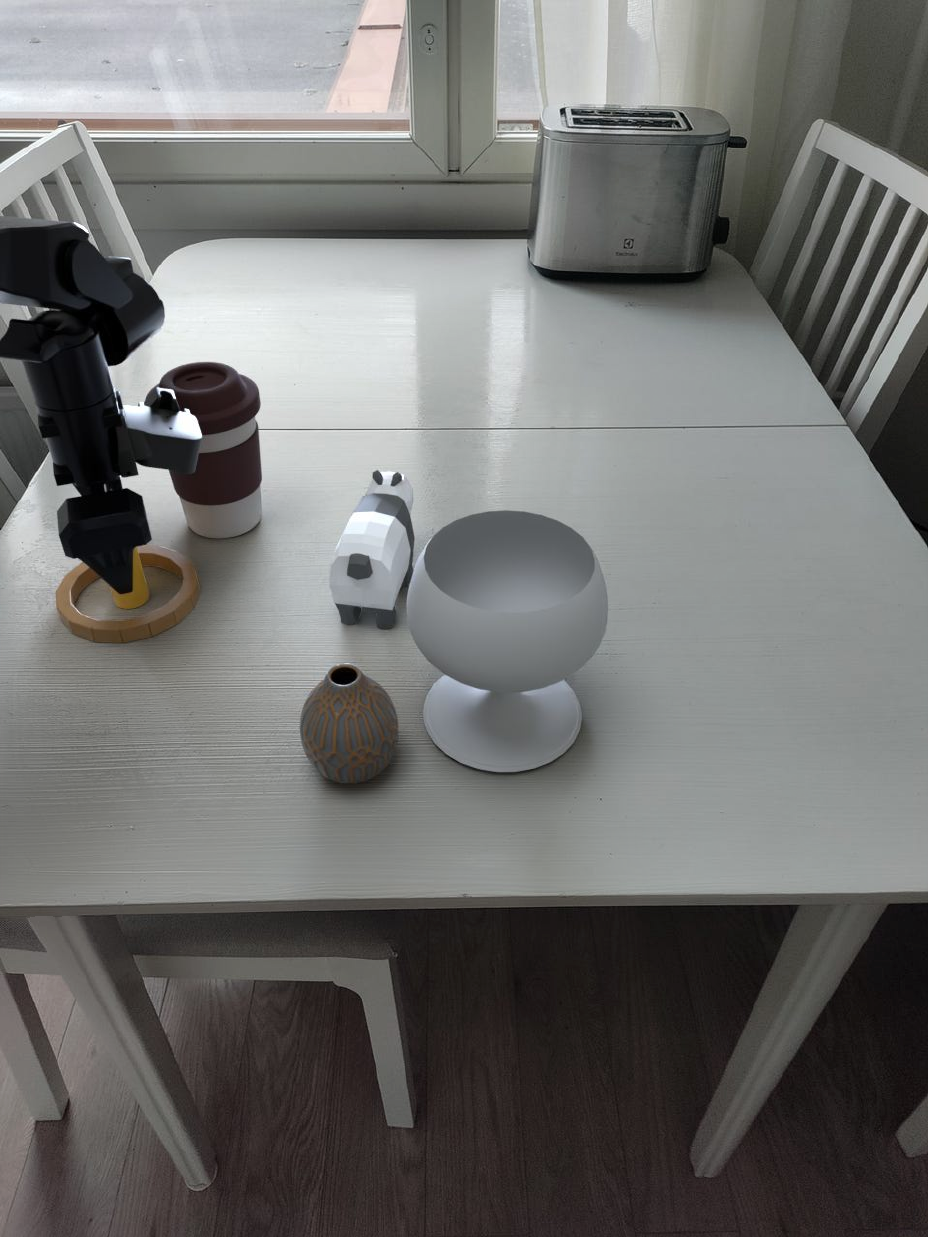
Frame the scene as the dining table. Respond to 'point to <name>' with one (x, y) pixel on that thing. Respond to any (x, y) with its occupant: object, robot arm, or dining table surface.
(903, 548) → the dining table surface
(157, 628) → the wooden ring
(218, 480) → the coffee cup
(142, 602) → the pencil stub
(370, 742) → the vase
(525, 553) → the chalice
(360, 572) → the giant panda
